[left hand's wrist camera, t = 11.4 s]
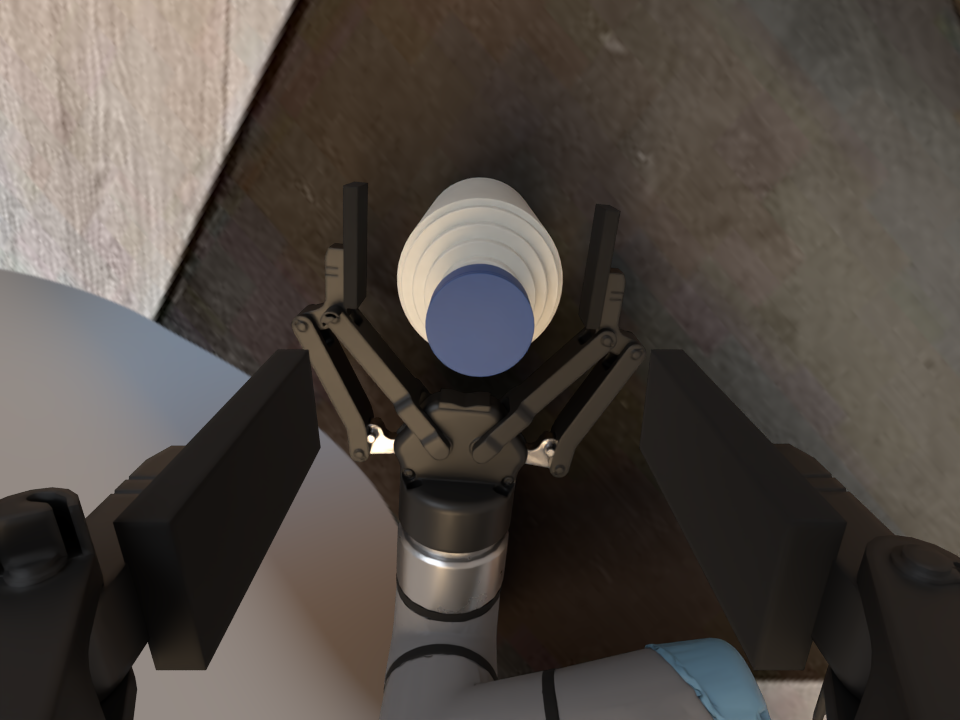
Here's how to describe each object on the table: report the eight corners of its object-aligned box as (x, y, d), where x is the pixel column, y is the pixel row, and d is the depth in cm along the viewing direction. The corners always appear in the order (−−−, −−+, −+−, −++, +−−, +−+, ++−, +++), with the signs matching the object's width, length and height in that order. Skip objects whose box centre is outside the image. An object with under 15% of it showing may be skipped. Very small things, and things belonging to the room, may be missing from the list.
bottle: (402, 216, 37) (331, 288, 19) (499, 154, 35) (519, 171, 18) (462, 309, 39) (447, 449, 22) (555, 254, 38) (621, 356, 20)
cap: (409, 297, 21) (403, 309, 19) (498, 243, 20) (499, 251, 18) (463, 377, 22) (462, 395, 20) (549, 330, 21) (554, 344, 20)
